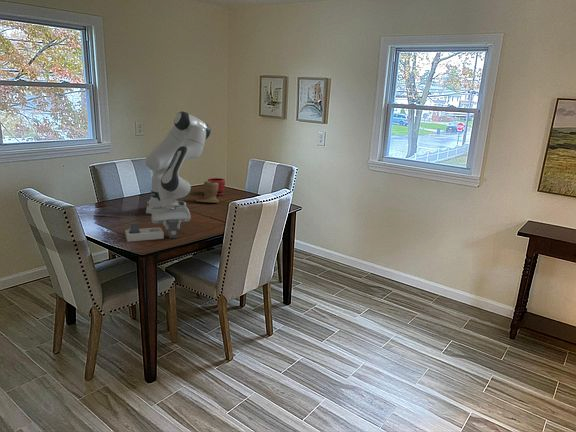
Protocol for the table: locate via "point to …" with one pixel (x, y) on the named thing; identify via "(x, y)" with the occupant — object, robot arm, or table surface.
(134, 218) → the table surface
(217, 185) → the tan boot
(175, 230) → the plug
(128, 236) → the power strip
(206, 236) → the table surface
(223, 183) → the plant pot
